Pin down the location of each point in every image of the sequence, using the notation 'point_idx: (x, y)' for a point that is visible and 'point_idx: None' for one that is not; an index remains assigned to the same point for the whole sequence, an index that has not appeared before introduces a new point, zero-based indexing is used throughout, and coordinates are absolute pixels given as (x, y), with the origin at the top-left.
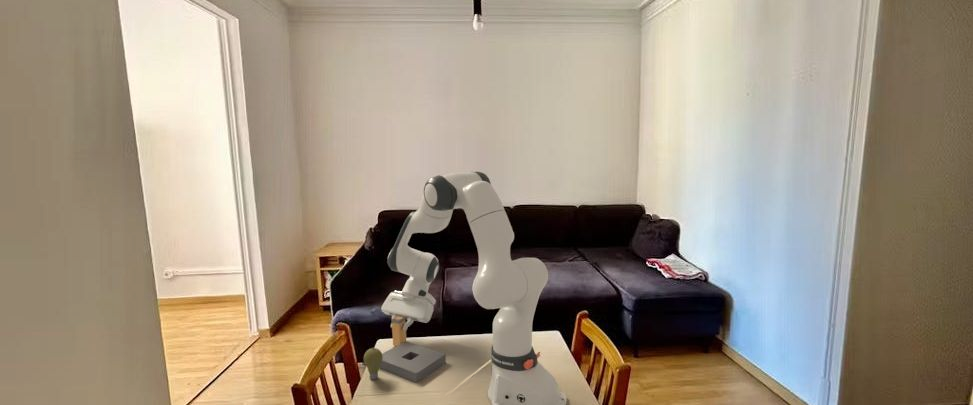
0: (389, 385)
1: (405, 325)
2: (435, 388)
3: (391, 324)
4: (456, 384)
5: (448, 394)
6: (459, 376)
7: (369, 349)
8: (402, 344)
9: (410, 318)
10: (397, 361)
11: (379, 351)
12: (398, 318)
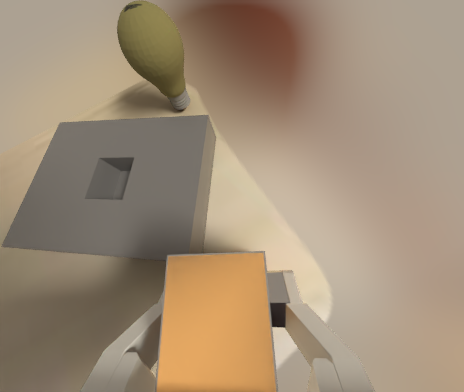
0: (139, 111)
1: (160, 298)
2: None
3: (290, 279)
4: (6, 184)
5: (18, 149)
6: (3, 214)
7: (144, 2)
8: (180, 228)
9: (89, 383)
10: (131, 135)
11: (119, 32)
12: (197, 294)
